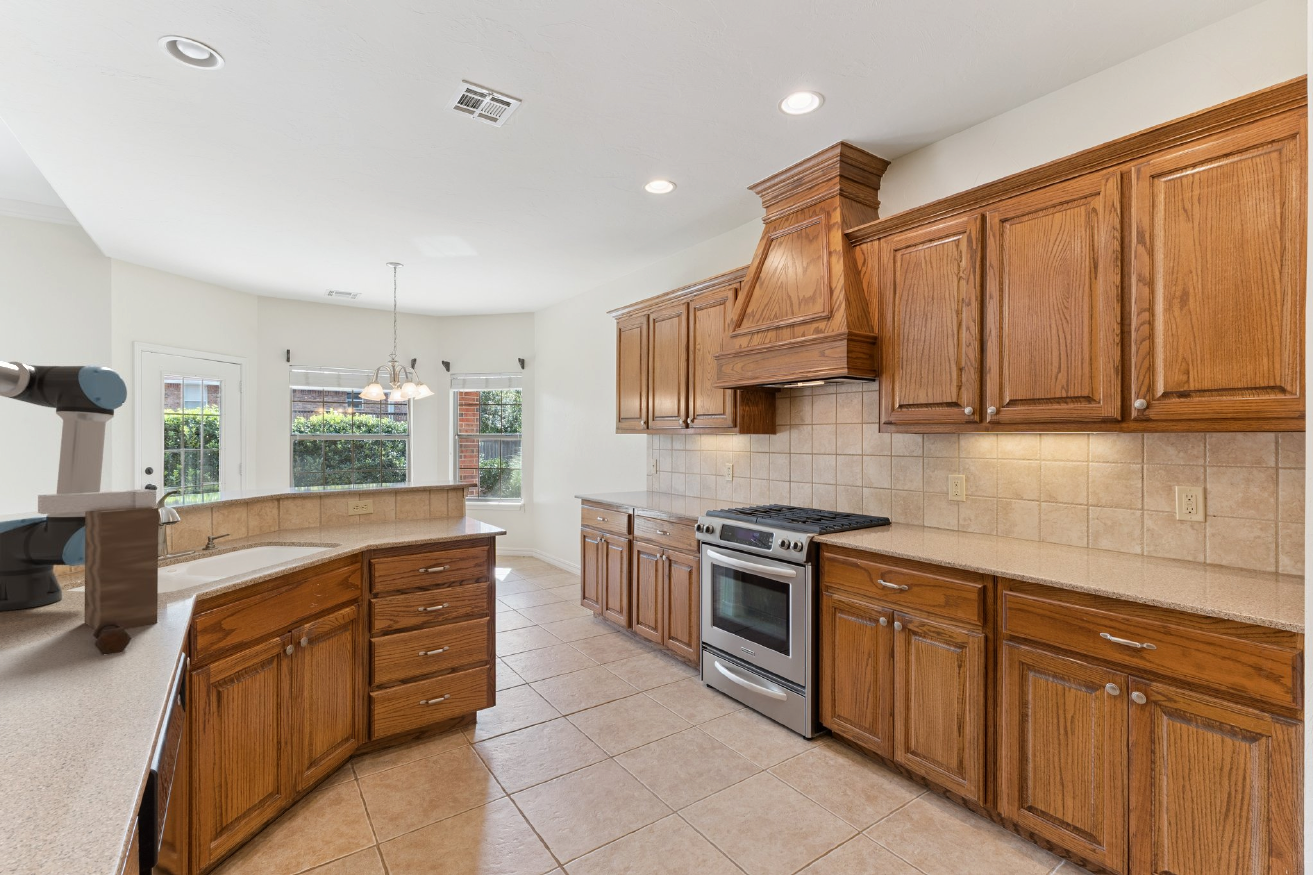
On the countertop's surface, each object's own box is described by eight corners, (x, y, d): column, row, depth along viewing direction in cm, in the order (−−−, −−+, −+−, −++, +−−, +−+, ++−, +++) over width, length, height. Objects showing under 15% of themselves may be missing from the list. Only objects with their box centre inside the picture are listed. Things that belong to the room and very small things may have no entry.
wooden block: (84, 622, 148) (85, 507, 148) (139, 612, 157) (140, 504, 157) (100, 633, 140) (101, 512, 140) (157, 622, 149) (158, 508, 149)
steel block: (36, 512, 139) (36, 494, 139) (147, 504, 155) (147, 489, 155) (43, 514, 135) (43, 496, 135) (156, 506, 151) (156, 490, 151)
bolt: (110, 644, 139) (118, 659, 128) (84, 638, 136) (89, 652, 125) (127, 619, 141) (136, 632, 131) (101, 612, 138) (109, 624, 127)
